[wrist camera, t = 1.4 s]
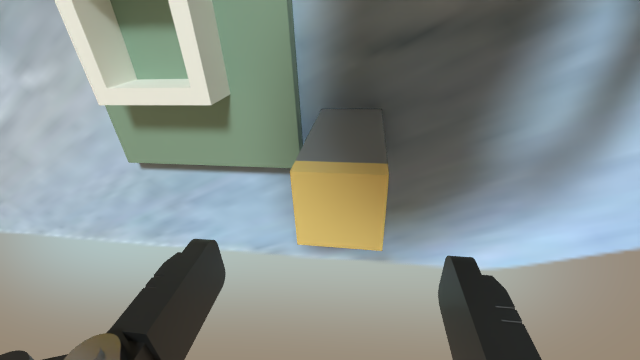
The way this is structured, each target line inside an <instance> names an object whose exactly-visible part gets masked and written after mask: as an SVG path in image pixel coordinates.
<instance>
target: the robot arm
mask: <svg viewBox="0 0 640 360" xmlns="http://www.w3.org/2000/svg"><path fill="white" fill-rule="evenodd" d="M224 280H225V268H224V264H223V261H222V258H221V254H220V250H219V247H218V244H217V242H216V241H215V240H205V239H193V240H192V241H191V242H190V243H189V244H188V245H187V247H186V248H185V249H184V250H183V252H182V253H180V252H178V253H176V254H175V255H174V256H172V257H171V258H170V259H168V260H167V261H166V262H164V263H163V265H162V266H161V267H160V268H159V269H158V271H157V272H156V273H155V274H154V277H153V278H151V279H150V281H149V282H148V283H147V284H146V287H145V288H143V289H142V291H141V292H140V293H139V294H138V295H137V297H136V298H135V299H134V300H133V302H132V303H131V304H130V305H129V307H128V308H127V309H126V310H125V311H124V313H123V314H122V315H121V316H120V318H119V319H118V320H117V321H116V323H115V324H114V325H113V326H112V328H111V329H110V330H109V331H108V332H107V333H105V334H99V335H96V336H93V337H91V338H89V339H87V340H85V341H84V342H82V343H81V344H79V345H78V346H77V347H75V348H74V349H73V350H72V351H71V352H70V353H69V354H67V355H62V356H58V357H53V358H48V359H44V360H184V359H185V357H186V355H187V353H188V352H189V350H190V348H191V346H192V344H193V342H194V340H195V338H196V336H197V334H198V332H199V331H200V329H201V327H202V325H203V323H204V321H205V319H206V317H207V315H208V313H209V312H210V309H211V308H212V306H213V304H214V302H215V300H216V298H217V296H218V294H219V292H220V291H221V289H222V287H223V284H224ZM438 298H439V306H440V310H441V314H442V318H443V322H444V326H445V330H446V334H447V338H448V342H449V346H450V350H451V354H452V358H453V360H541V358H540V356H539V354H538V352H537V350H536V348H535V346H534V344H533V342H532V340H531V338H530V336H529V334H528V332H527V330H526V328H525V326H524V324H522V320H521V318H520V316H519V314H518V313H517V310H515V306H514V304H513V302H512V300H511V298H510V296H509V295H508V293H507V291H506V289H505V288H504V287H503V286H502V285H501V284H500V283H499V282H498V281H497V280H496V279H495V278H494V277H493V276H488V275H481V273H480V270H479V268H478V265H477V263H476V261H475V260H474V258H472V257H458V256H447V257H446V259H445V263H444V267H443V272H442V276H441V280H440V284H439V290H438ZM0 360H34V359H32V357H31V356H30V355H28V353H27V352H25V351H12V352H8V353H5V354H2V355H0Z"/></svg>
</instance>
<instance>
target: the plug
mask: <svg viewBox="0 0 640 360" xmlns="http://www.w3.org/2000/svg"><path fill="white" fill-rule="evenodd" d="M290 177H291V187H292V196H293V206H294V215H295V225H296V234H297V244H298V245H312V246H325V247H338V248H351V249H364V250H377V251H382V247H383V236H384V225H385V214H386V203H387V192H388V181H389V170H388V161H387V152H386V144H385V135H384V126H383V117H382V109H321V111H320V113H319V115H318V117H317V119H316V121H315V123H314V125H313V127H312V129H311V131H310V133H309V135H308V137H307V139H306V141H305V143H304V145H303V147H302V149H301V151H300V152H299V154H298V156H297V158H296V160H295V162H294V164H293V166H292V168H291V170H290Z"/></svg>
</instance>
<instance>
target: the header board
mask: <svg viewBox="0 0 640 360" xmlns="http://www.w3.org/2000/svg"><path fill="white" fill-rule="evenodd" d="M55 3H56V5H57V7H58V10H59V12H60V15H61V17H62V19H63V22H64V24H65V26H66V29H67V31H68V33H69V36H70V38H71V40H72V43H73V45H74V47H75V50H76V52H77V54H78V57H79V59H80V61H81V64H82V66H83V68H84V71H85V73H86V75H87V78H88V80H89V82H90V85H91V87H92V90H93V92H94V94H95V97H96V99H97V101H98V104H99V105H105V107H106V109H107V111H108V114H109V116H110V119H111V121H112V123H113V126H114V128H115V131H116V133H117V135H118V138H119V140H120V143H121V145H122V147H123V150H124V152H125V155H126V157H127V159H128V162H130V163H158V164H186V165H215V166H243V167H271V168H292V166H293V164H294V162H295V160H296V158H297V156H298V154H299V152H300V151H301V149H302V147H303V141H302V128H301V115H300V102H299V89H298V75H297V62H296V49H295V36H294V23H293V10H292V0H55Z"/></svg>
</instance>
